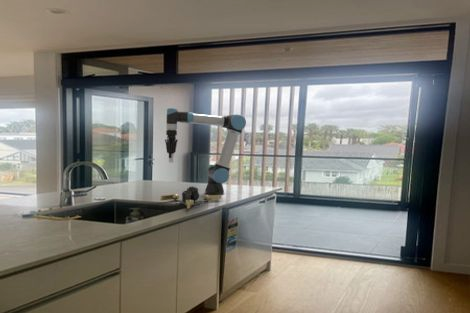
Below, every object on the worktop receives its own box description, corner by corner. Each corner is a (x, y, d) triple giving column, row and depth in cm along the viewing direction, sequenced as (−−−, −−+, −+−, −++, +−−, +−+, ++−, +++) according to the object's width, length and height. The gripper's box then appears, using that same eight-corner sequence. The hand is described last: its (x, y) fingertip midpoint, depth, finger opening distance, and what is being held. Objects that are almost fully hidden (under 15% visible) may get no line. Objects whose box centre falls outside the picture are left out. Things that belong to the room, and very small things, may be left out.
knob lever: (175, 199, 253) (176, 193, 253) (180, 200, 250) (180, 194, 250) (159, 201, 244) (159, 195, 244) (163, 202, 240) (163, 196, 240)
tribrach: (190, 196, 270) (190, 190, 269) (221, 200, 258) (222, 194, 257) (153, 205, 232) (153, 198, 231) (188, 211, 220) (189, 203, 219)
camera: (195, 203, 237) (195, 188, 237) (180, 202, 239) (181, 187, 238) (200, 200, 250) (201, 185, 250) (186, 199, 252) (187, 184, 252)
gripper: (172, 129, 268) (171, 161, 269) (161, 129, 256) (161, 162, 258) (181, 130, 265) (180, 162, 266) (170, 129, 253) (169, 163, 255)
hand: (170, 162), depth 262 cm, fingers closed
